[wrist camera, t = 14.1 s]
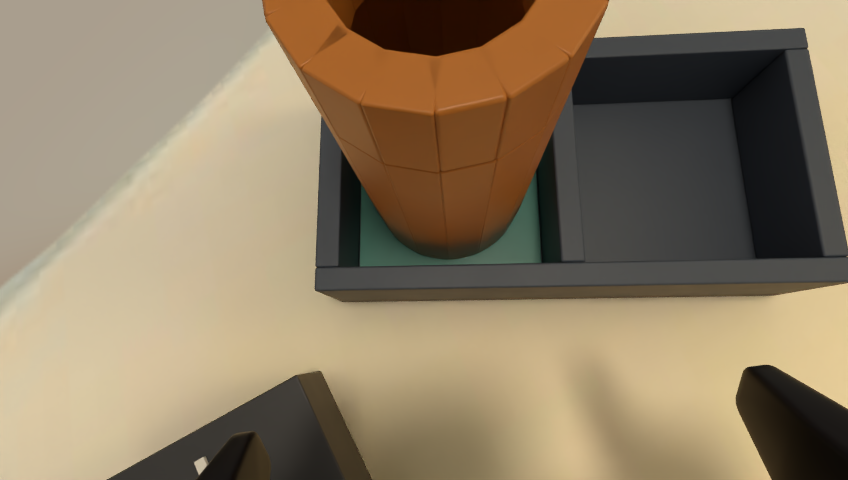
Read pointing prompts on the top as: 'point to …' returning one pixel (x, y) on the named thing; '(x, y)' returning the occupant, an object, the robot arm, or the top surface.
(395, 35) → the amber jar
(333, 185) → the dark grey divided tray
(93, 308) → the top surface
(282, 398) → the dial panel
